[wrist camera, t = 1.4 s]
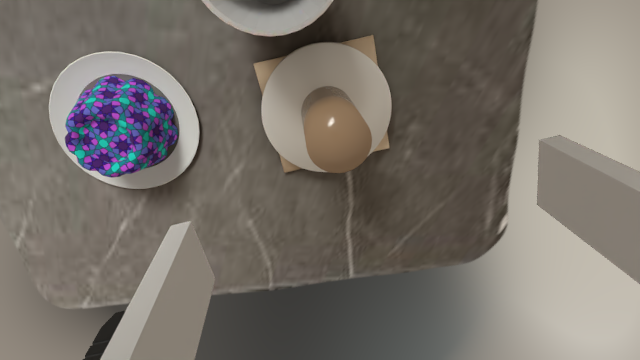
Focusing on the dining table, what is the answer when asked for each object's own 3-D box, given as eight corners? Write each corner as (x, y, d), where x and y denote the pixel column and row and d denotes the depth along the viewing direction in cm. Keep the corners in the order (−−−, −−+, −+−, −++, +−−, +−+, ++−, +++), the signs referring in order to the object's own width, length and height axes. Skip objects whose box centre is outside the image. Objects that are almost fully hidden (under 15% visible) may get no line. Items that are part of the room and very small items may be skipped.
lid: (245, 59, 31) (232, 80, 23) (378, 27, 30) (411, 37, 23) (280, 178, 35) (279, 229, 28) (395, 151, 35) (427, 195, 27)
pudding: (129, 207, 36) (105, 238, 31) (21, 104, 31) (-26, 123, 27) (229, 140, 34) (220, 162, 29) (130, 18, 29) (101, 22, 25)
